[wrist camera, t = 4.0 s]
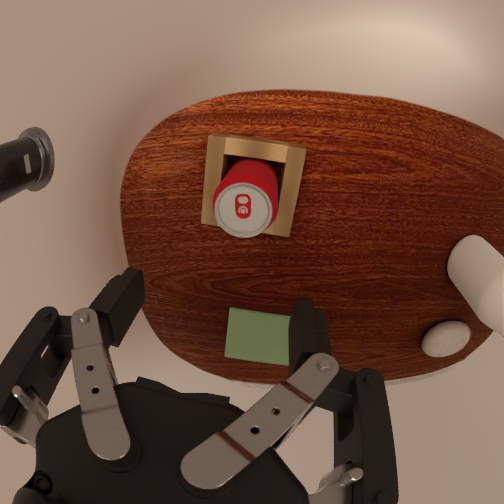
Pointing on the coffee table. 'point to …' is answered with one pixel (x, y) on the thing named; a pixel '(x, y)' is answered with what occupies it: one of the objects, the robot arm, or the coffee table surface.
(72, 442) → the robot arm
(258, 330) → the pad
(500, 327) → the wine bottle
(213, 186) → the stand
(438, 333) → the decorative stone
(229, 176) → the beverage can
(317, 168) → the coffee table surface
